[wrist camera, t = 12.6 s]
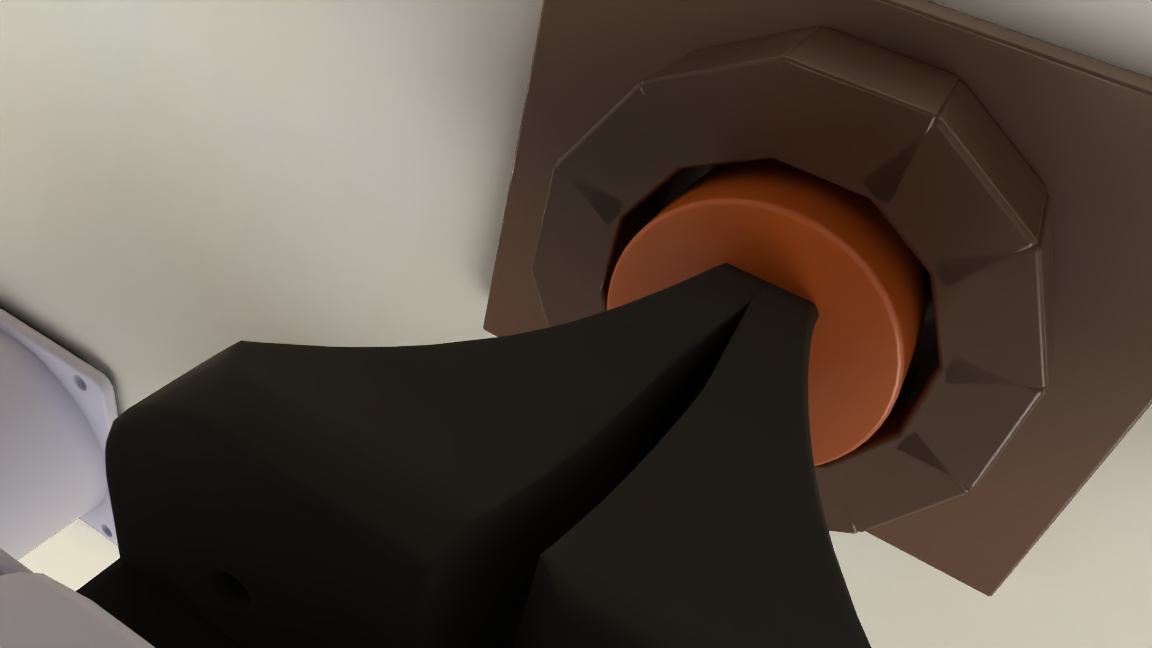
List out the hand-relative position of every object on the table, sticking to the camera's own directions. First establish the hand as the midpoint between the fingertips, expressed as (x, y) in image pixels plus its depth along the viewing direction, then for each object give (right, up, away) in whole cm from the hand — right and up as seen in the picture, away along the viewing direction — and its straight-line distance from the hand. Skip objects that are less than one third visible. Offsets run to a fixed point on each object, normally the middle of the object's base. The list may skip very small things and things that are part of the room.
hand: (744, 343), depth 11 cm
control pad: (+1, +1, +2) cm, 3 cm away
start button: (+1, +1, +1) cm, 2 cm away
